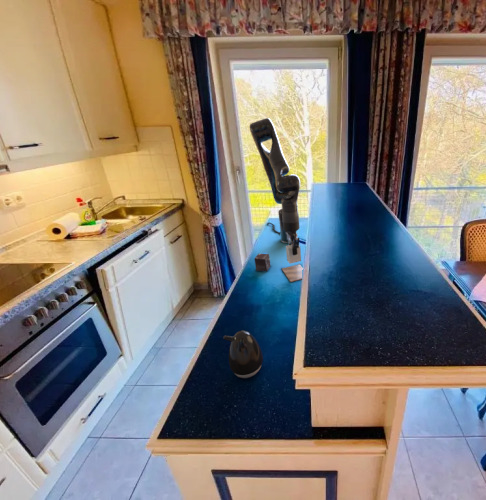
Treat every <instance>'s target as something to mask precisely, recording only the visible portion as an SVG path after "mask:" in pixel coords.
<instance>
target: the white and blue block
mask: <svg viewBox="0 0 486 500" xmlns="http://www.w3.org/2000/svg"><path fill="white" fill-rule="evenodd" d="M285 253H286V261H287V262H288V263H289V264H295V263H299V262H302V254H301V253H302V252H301V246H300V245H299V248H297V255H293V252H292V245H289V244H288V245H285Z"/></svg>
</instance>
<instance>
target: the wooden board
mask: <svg viewBox="0 0 486 500" xmlns="http://www.w3.org/2000/svg"><path fill="white" fill-rule="evenodd" d="M303 269H304V268H303V267H302V265H301V264H300V263H299V264H294V265H291V266H287V267H282V268H281V270H282V271H283V273H284V275H285V276H286V278H287V280H288V281H289V282H290V283H294V282H297V281H301V280H303V279H302V270H303Z"/></svg>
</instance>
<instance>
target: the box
mask: <svg viewBox="0 0 486 500" xmlns="http://www.w3.org/2000/svg"><path fill="white" fill-rule="evenodd" d="M253 259H254V266H255V271H256V272H268V271H269V269H270V268H271V265H272V264H271V257H270V253H257V255H255V257H254V258H253Z"/></svg>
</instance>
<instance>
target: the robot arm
mask: <svg viewBox="0 0 486 500" xmlns="http://www.w3.org/2000/svg"><path fill="white" fill-rule="evenodd" d="M249 132H250V135H251V137H252V140H253V142H254V144H255V146H256V149H257V151H258V154H259V156H260V159H261V162H262V166H263V169H264V171H265V175H266V177H267V180H268V182H269V185H270V189H271V192H272V196H273V200H274V202H275V203H276V204H277V205H278V204H279V205H281V208H280V209H278V211H277V213H278V223H279V231H277V230H276V229H275V224H274V223H272V222H267V223H266V224H267V225H271V226H272V230H273V231H274V232H275V233H276V234H279V235H280V242H281V243H283V244H288V245H292V252H293V255H297V248H299V246H300V237H298V233H297V231H299V229H300V215H299V207H298V205H299V204H298V198H299V193H300V189H301V180H300V177H299V176H298V175H297V174H289V173H290V166H289V164H288V162H287V160H286V157H285V155H284V153H283V149H282V146H281V143H280V140H279V137H278V134H277V130H276V127H275V125H274V123H273V121H272V120H271V119H270V118H268V117H267V118H263V119H259V120H256V121H254V122H251V123H250V124H249ZM268 141H271V146H270V150H269V149H268V148H267V147H266V146H265V145H264V143H265V142H268Z"/></svg>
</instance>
